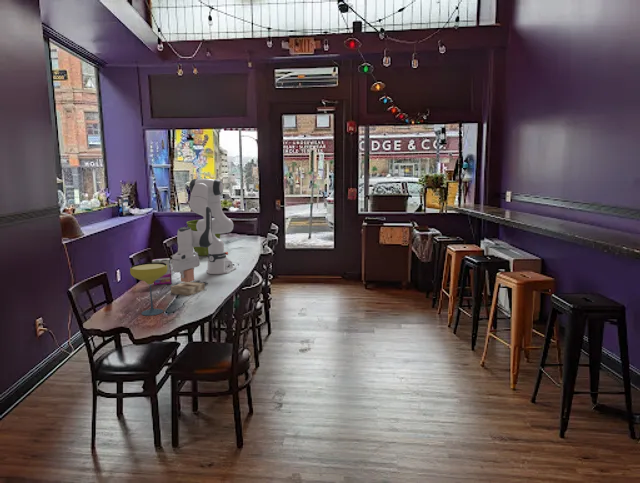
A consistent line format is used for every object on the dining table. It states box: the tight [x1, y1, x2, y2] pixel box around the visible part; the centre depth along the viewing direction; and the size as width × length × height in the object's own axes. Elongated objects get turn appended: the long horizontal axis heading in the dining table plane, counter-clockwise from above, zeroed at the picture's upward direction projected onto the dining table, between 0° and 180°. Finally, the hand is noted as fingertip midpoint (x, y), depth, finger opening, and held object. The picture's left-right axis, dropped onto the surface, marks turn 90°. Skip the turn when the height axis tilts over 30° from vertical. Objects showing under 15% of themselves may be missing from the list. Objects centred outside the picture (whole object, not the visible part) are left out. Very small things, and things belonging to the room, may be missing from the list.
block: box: [180, 268, 195, 283], centre depth 273 cm, size 6×6×7 cm
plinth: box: [170, 281, 206, 297], centre depth 275 cm, size 14×14×4 cm
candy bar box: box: [151, 257, 173, 286], centre depth 293 cm, size 11×5×16 cm, turn 105°
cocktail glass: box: [129, 261, 167, 317], centre depth 234 cm, size 18×18×25 cm
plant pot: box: [186, 219, 221, 257], centre depth 390 cm, size 30×30×29 cm
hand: (187, 276), depth 273 cm, fingers closed on block, 5 cm apart
